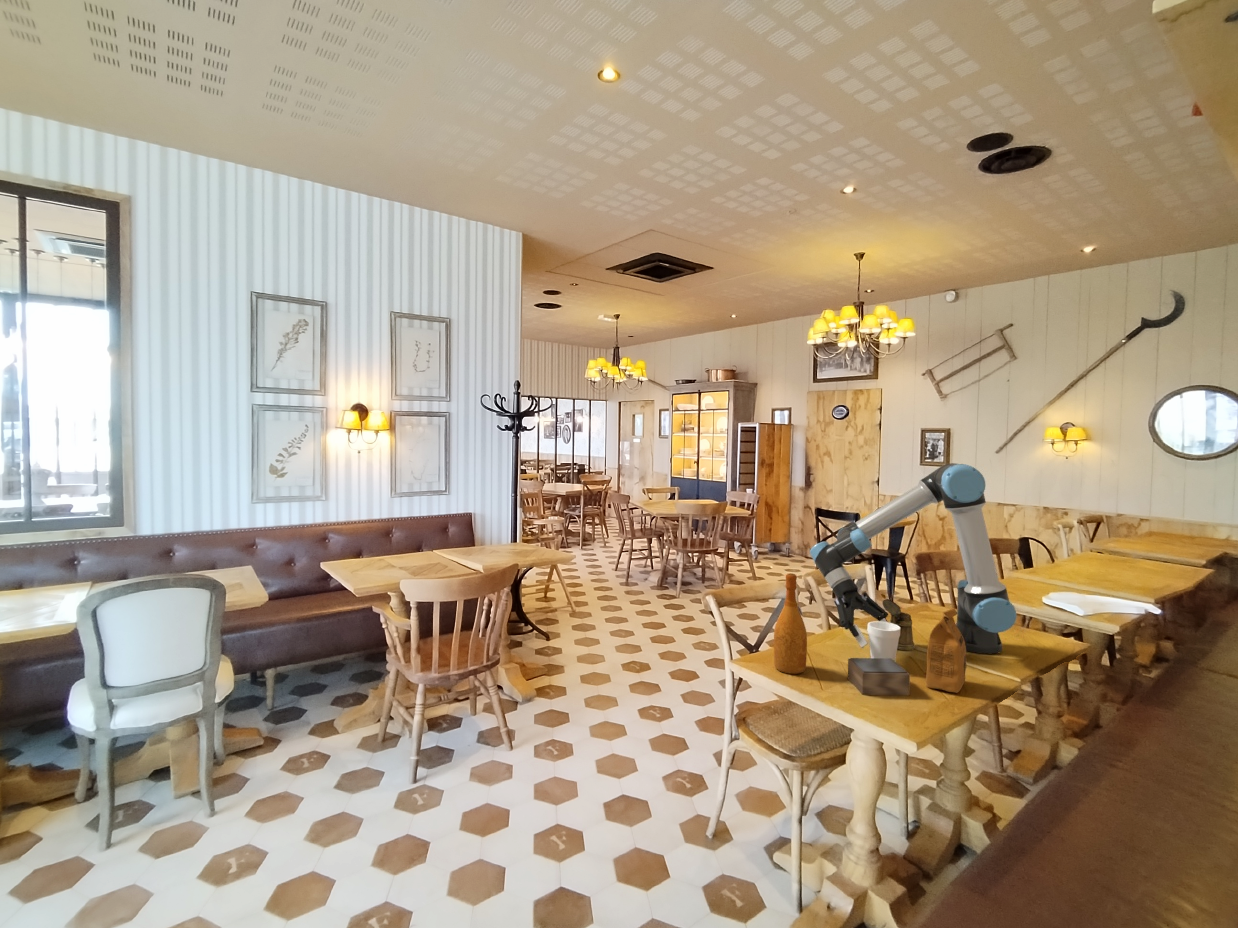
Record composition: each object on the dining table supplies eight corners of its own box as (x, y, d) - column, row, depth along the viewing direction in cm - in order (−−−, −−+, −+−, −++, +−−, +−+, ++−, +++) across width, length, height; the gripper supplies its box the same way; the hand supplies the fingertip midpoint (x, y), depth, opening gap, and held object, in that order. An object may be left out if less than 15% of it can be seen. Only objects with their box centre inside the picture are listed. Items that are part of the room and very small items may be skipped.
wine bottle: (801, 677, 173) (803, 578, 171) (769, 670, 178) (770, 574, 177) (809, 667, 181) (811, 572, 180) (778, 660, 186) (780, 568, 185)
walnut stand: (891, 678, 172) (892, 657, 172) (909, 695, 161) (909, 672, 161) (847, 678, 173) (848, 657, 172) (862, 694, 162) (862, 671, 161)
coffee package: (971, 684, 168) (973, 610, 167) (959, 697, 160) (961, 619, 159) (934, 674, 175) (936, 603, 174) (920, 687, 167) (922, 611, 166)
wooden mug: (873, 647, 198) (874, 596, 197) (894, 639, 206) (895, 590, 205) (899, 655, 191) (900, 602, 190) (919, 647, 199) (920, 595, 198)
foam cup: (903, 666, 182) (904, 625, 181) (893, 675, 175) (894, 632, 174) (872, 658, 188) (873, 619, 188) (862, 666, 182) (862, 625, 181)
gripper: (860, 585, 203) (897, 641, 190) (809, 594, 191) (845, 653, 178) (873, 574, 198) (912, 629, 185) (821, 582, 186) (859, 642, 174)
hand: (879, 641), depth 182 cm, fingers open, 13 cm apart
